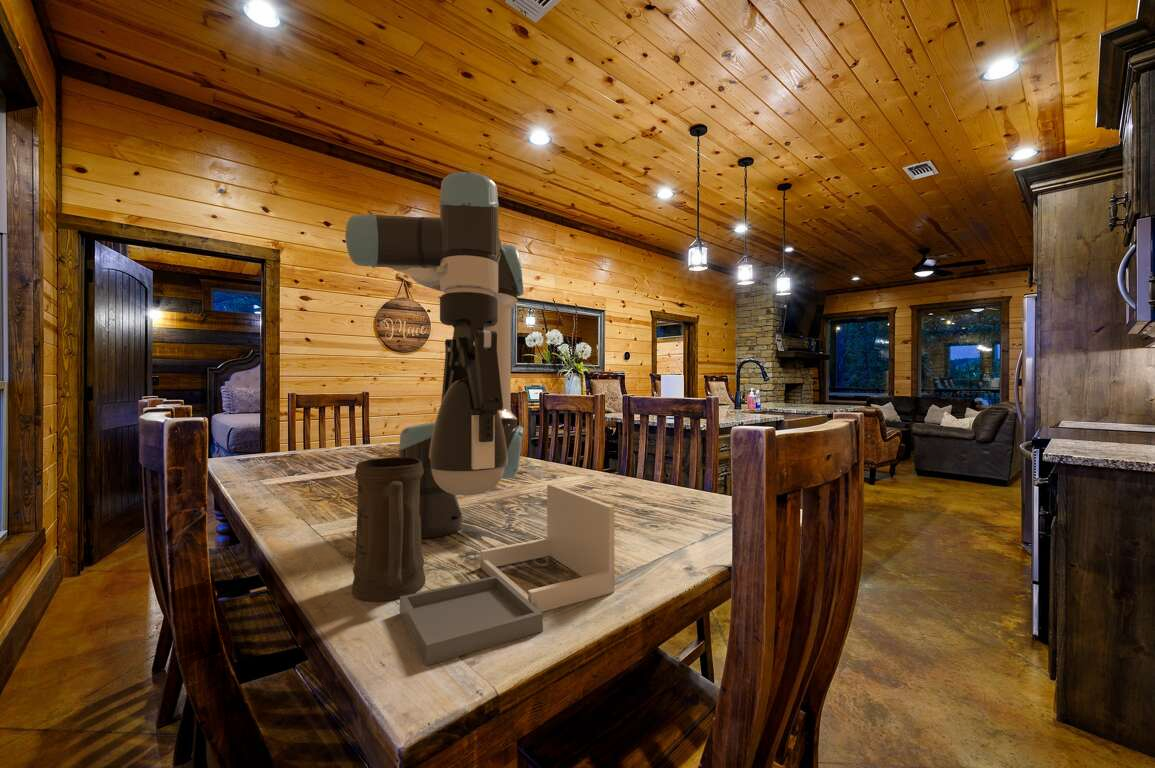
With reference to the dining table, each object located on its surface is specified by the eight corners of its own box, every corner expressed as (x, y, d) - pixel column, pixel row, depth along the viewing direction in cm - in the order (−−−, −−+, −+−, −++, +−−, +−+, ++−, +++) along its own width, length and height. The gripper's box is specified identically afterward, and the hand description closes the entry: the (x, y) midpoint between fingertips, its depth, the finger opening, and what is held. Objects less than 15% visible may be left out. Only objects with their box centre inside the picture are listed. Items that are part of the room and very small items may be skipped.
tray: (399, 613, 66) (399, 596, 66) (499, 590, 74) (499, 575, 74) (426, 666, 54) (426, 645, 54) (542, 631, 61) (542, 613, 61)
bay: (480, 567, 83) (480, 492, 83) (551, 553, 90) (552, 483, 90) (531, 614, 66) (531, 519, 66) (614, 592, 73) (614, 506, 73)
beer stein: (343, 581, 77) (345, 457, 76) (411, 566, 83) (414, 452, 82) (367, 627, 65) (369, 479, 63) (444, 605, 71) (448, 471, 70)
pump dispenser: (495, 480, 71) (495, 377, 71) (517, 495, 61) (517, 376, 62) (422, 486, 66) (423, 376, 67) (435, 503, 57) (435, 375, 57)
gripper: (419, 305, 72) (419, 454, 72) (469, 274, 52) (469, 479, 52) (468, 309, 76) (468, 450, 75) (532, 282, 56) (531, 472, 56)
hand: (468, 462), depth 64 cm, fingers closed on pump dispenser, 10 cm apart
